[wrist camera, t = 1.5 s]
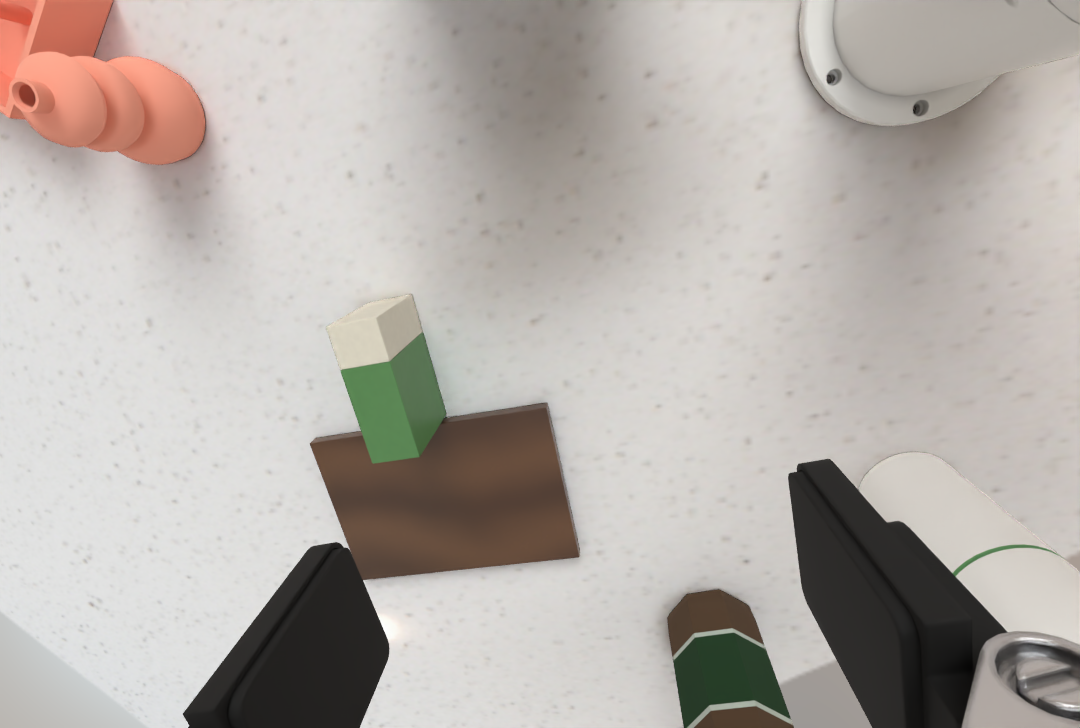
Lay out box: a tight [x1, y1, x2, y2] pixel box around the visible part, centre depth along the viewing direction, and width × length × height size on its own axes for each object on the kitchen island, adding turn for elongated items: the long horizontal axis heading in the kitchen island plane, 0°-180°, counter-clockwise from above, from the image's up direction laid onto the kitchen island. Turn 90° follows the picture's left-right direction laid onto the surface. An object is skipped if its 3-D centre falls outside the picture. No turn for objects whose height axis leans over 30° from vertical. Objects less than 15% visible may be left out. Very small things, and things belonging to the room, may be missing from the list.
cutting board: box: [310, 403, 580, 580], centre depth 45 cm, size 14×20×1 cm
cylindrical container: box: [858, 452, 1080, 645], centre depth 30 cm, size 7×7×25 cm
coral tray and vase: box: [0, 0, 205, 165], centre depth 32 cm, size 18×10×10 cm, turn 53°
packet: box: [326, 294, 446, 464], centre depth 38 cm, size 10×4×7 cm, turn 12°
